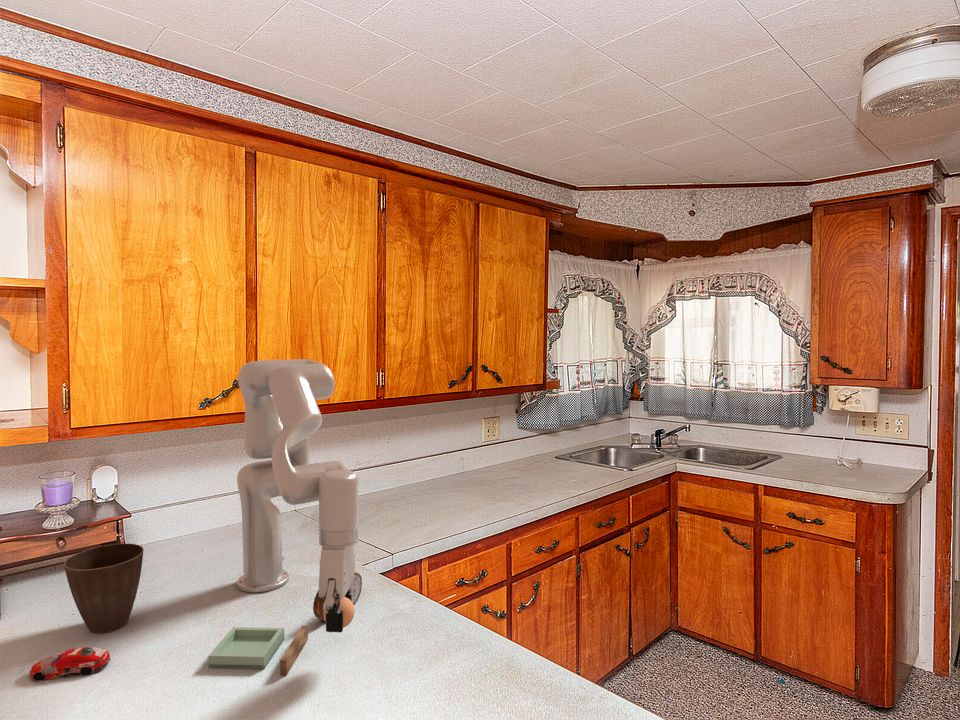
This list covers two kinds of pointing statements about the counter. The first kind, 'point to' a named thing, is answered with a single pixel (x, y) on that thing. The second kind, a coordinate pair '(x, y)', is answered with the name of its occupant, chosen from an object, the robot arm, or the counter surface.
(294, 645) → the rail
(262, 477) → the robot arm
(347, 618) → the ball
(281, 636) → the tray
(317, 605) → the tin
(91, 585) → the plant pot
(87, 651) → the race car
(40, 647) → the counter surface
